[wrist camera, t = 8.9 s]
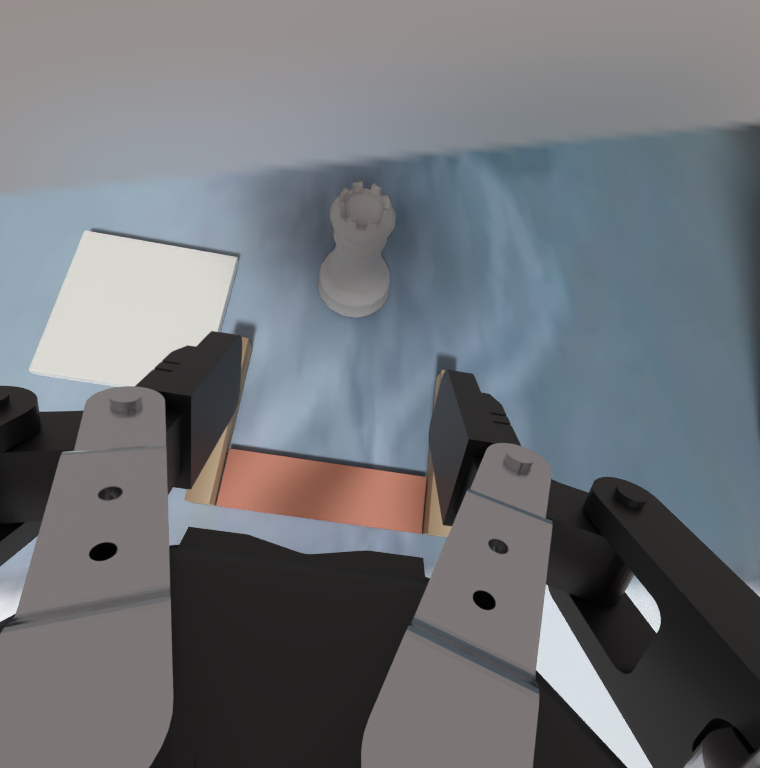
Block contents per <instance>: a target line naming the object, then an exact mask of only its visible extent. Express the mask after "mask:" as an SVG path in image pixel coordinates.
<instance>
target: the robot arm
mask: <svg viewBox="0 0 760 768" xmlns="http://www.w3.org/2000/svg"><path fill="white" fill-rule="evenodd" d="M241 362H242V338H241V336H240V335H234V334H228V333H222V332H215V331H211V332H210V333H209V334H208V335H207V336H206V337H205V338H204V339H203V340H202V341H201V342H200V343H199V344H198V345H197V346H196V347H195V346H189V345H187V346H185V347H182V348H180V349H177V350H174V351H172V352H171V353H170V354H169V355H168V356H166V357H165V358H164V359H163V360H162V362H160V363H159V364H158V365H157V366H156V367H155V369H154V370H152V371H151V372H149V373H148V374H147V375H146V376H145V377H144V378H143V379H142V380H141V381H140V382H139V383H138V384H137V385H136V386H125V387H115V388H110V389H107V390H103V391H101V392H98V393H96V394H94V395H93V396H91V397H90V398H89V399H88V400H87V402H86V404H85V408H84V411H61V412H39V407H38V401H37V396H36V395H35V394H34V393H33V392H32V391H30V390H27V389H24V388H20V387H13V386H0V566H1V565H2V564H4V563H5V562H6V561H7V560H9V559H10V558H11V557H12V556H14V555H15V554H16V553H17V552H18V551H20V550H21V549H22V548H23V547H25V546H26V545H27V544H28V543H29V542H31V541H32V540H33V539H34V538H36V537H37V536H38V538H37V541H36V545H35V549H34V552H33V556H32V559H31V563H30V566H29V570H28V574H27V577H26V581H25V584H24V588H23V591H22V595H21V599H20V602H19V606H18V609H17V612H16V614H14V615H13V616H11V617H9V618H7V619H5V620H3V621H1V622H0V768H627V767H626V766H625V765H624V763H623V762H622V761H621V760H620V759H619V758H618V757H617V756H616V755H615V754H614V753H613V752H612V751H611V750H610V749H609V747H608V746H607V745H606V744H605V743H604V742H603V741H602V740H601V739H600V738H599V737H598V736H597V735H596V734H595V732H594V731H593V730H592V729H591V728H590V727H589V726H588V725H587V724H586V723H585V722H584V721H583V720H582V719H581V718H580V716H579V715H578V714H577V713H576V712H575V711H574V710H573V709H572V708H571V707H570V706H569V705H568V704H567V703H566V702H565V700H564V699H563V698H562V697H561V696H560V695H559V694H558V693H557V692H556V691H555V690H554V689H553V688H552V687H551V685H550V684H549V683H548V682H547V681H546V680H545V679H544V678H543V677H542V676H541V675H540V674H539V673H538V672H537V671H536V663H537V655H538V646H539V638H540V629H541V620H542V612H543V603H544V595H545V586H546V585H548V588H549V591H550V594H551V596H552V598H553V600H554V601H555V603H556V605H557V606H558V608H559V610H560V611H561V613H562V615H563V616H564V618H565V620H566V622H567V623H568V625H569V627H570V628H571V630H572V632H573V633H574V635H575V637H576V638H577V640H578V642H579V643H580V645H581V647H582V649H583V650H584V652H585V654H586V655H587V657H588V659H589V660H590V662H591V664H592V665H593V667H594V669H595V670H596V672H597V674H598V675H599V677H600V679H601V681H602V682H603V684H604V686H605V687H606V689H607V691H608V692H609V694H610V696H611V697H612V699H613V701H614V702H615V704H616V706H617V708H618V709H619V711H620V713H621V714H622V716H623V718H624V719H625V721H626V723H627V724H628V726H629V728H630V729H631V731H632V733H633V734H634V736H635V738H636V740H637V741H638V743H639V745H640V746H641V748H642V750H643V751H644V753H645V755H646V756H647V758H648V760H649V761H650V763H651V765H652V767H653V768H760V597H759V596H758V595H757V594H756V593H755V592H754V591H753V590H752V589H751V588H750V587H749V586H747V585H746V584H745V583H744V582H743V581H742V580H741V579H740V578H739V577H738V576H737V575H736V574H735V573H734V572H733V571H732V570H731V569H730V568H729V567H728V566H727V565H726V564H725V563H724V562H722V561H721V560H720V559H719V558H718V557H717V556H716V555H715V554H714V553H713V552H712V551H711V550H710V549H709V548H708V547H707V546H706V545H705V544H704V543H703V542H702V541H701V540H700V539H699V538H698V537H696V536H695V535H694V534H693V533H692V532H691V531H690V530H689V529H688V528H687V527H686V526H685V525H684V524H683V523H682V522H681V521H680V520H679V519H678V518H677V517H676V516H675V515H674V514H673V513H671V512H670V511H669V510H668V509H667V508H666V507H665V506H664V505H663V504H662V503H661V502H660V501H659V500H658V499H657V498H656V497H655V496H653V495H652V494H651V493H649V492H648V491H646V490H645V489H643V488H641V487H639V486H638V485H635V484H633V483H631V482H628V481H626V480H622V479H619V478H613V477H602V478H598V479H596V480H595V481H594V483H593V485H592V487H591V489H590V491H589V493H588V492H585V491H582V490H579V489H576V488H573V487H570V486H567V485H564V484H561V483H559V482H556V481H554V480H552V479H551V476H552V470H551V467H550V465H549V464H548V463H547V461H546V460H545V459H543V458H542V457H541V456H540V455H538V454H537V453H535V452H533V451H531V450H529V449H527V448H525V447H522V446H521V445H520V442H519V440H518V438H517V436H516V434H515V432H514V430H513V428H512V426H510V422H509V419H508V417H506V413H505V411H504V409H503V407H502V405H501V404H500V403H499V402H498V401H497V400H496V399H495V398H493V397H492V396H491V395H490V394H486V393H481V391H480V389H479V386H478V384H477V382H476V379H475V377H474V375H473V374H471V373H465V372H459V371H452V370H445V372H444V374H443V376H442V380H441V383H440V387H439V391H438V395H437V399H436V403H435V407H434V411H433V415H432V419H431V423H430V429H429V445H430V451H431V457H432V463H433V469H434V475H435V481H436V487H437V493H438V499H439V505H440V512H441V518H442V524H443V525H445V526H452V528H451V530H450V532H449V535H448V537H447V540H446V542H445V544H444V547H443V549H442V552H441V554H440V556H439V559H438V561H437V563H436V566H435V568H434V571H433V573H432V575H431V578H427V577H425V572H424V563H423V558H419V557H412V556H404V555H397V554H389V553H382V552H374V551H353V552H339V553H325V554H303V553H299V552H296V551H293V550H290V549H287V548H285V547H282V546H279V545H276V544H273V543H270V542H267V541H265V540H262V539H259V538H256V537H253V536H250V535H246V534H239V533H231V532H224V531H216V530H209V529H201V528H194V527H188V529H187V531H186V533H185V535H184V537H183V539H182V541H181V543H180V545H171V546H169V525H168V494H169V493H170V491H171V489H172V488H173V487H176V488H183V489H192V487H193V485H194V483H195V482H196V480H197V478H198V476H199V475H200V473H201V471H202V469H203V468H204V466H205V464H206V462H207V460H208V459H209V457H210V455H211V453H212V452H213V450H214V448H215V446H216V445H217V443H218V441H219V439H220V438H221V436H222V434H223V432H224V431H225V429H226V427H227V425H228V423H229V422H230V420H231V418H232V416H233V415H234V413H235V411H236V408H237V405H238V400H239V395H240V381H241ZM634 575H635V576H636V577H637V578H638V580H639V581H640V582H641V583H642V585H643V586H644V587H645V588H646V590H647V591H648V592H649V593H650V594H651V596H652V597H653V598H654V600H655V601H656V603H657V605H658V608H659V611H660V616H661V625H660V629H659V631H658V632H657V634H656V632H655V631H654V630H653V628H652V627H651V626H650V624H649V623H648V622H647V621H646V619H645V618H644V617H643V615H642V614H641V613H640V611H639V610H638V609H637V607H636V606H635V605H634V603H633V602H632V601H631V599H630V598H629V597H628V595H627V594H626V593H625V590H626V589H627V587H628V585H629V583H630V582H631V580H632V578H633V576H634Z"/></svg>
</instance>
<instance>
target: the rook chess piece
mask: <svg viewBox="0 0 760 768" xmlns="http://www.w3.org/2000/svg"><path fill="white" fill-rule="evenodd" d="M381 190H382V187H380V186H378V185H377V184H375V183H373V184H372V186H371V189H367V188H363V181H358V182H353V186H352V189H351V190H348V189H347V188H345V187H344V189H343V190H342V191H341V193H340V194H339V196H338V197H337V198H336V200H335V201H334V202H333V204H332V205H331V210H330V219H331V223H332V226H333V228H334V234H333V236H334V239H335V242H336V247H335V249H334V250H333V251H332V252H331V253H329V254H328V256H327V257H326V259H325V260H324V262H323V263H322V265H321V268H320V273H319V280H318V289H319V293H320V296H321V299H322V300H323V301H324V302H325V303H326V305H327V306H328V307H329V308H330V309H331V310H333V311H335V312H337V313H339V314H340V315H342V316H349V317H355V318H358V317H362V316H367V315H371V314H372V313H374V312H375V311H377V310H378V309H380V308H381V307H382V306H383V304H384V303H385V301H386V299H387V298H388V294H389V285H390V273H389V270H388V267H387V264H386V262H385V261H384V260H383V257H382V256H381V251H382V250H383V248H384V247H385V245H386V244H387V237H388V236H389V235H390V234H391V232H392V231H393V229H394V228H395V222H396V214H395V212H394V209H393V206H392V205H391V200H390V198H389V195H385V196H383V195H381Z"/></svg>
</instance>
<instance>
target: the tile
mask: <svg viewBox="0 0 760 768" xmlns="http://www.w3.org/2000/svg"><path fill="white" fill-rule="evenodd" d="M238 263H239V262H238V258H237V257H234V256H228V255H222V254H217V253H211V252H205V251H199V250H194V249H188V248H182V247H177V246H171V245H165V244H159V243H154V242H148V241H142V240H136V239H131V238H125V237H119V236H114V235H108V234H102V233H96V232H91V231H84V233H83V236H82V238H81V241H80V243H79V246H78V248H77V251H76V253H75V256H74V258H73V261H72V263H71V266H70V268H69V271H68V273H67V276H66V278H65V281H64V283H63V286H62V288H61V291H60V293H59V296H58V298H57V301H56V303H55V306H54V308H53V311H52V313H51V316H50V318H49V321H48V323H47V326H46V328H45V331H44V333H43V336H42V338H41V341H40V343H39V346H38V348H37V351H36V353H35V356H34V358H33V361H32V363H31V366H30V368H29V371H30V372H32V373H33V374H35V375H41V376H48V377H54V378H61V379H68V380H74V381H81V382H87V383H94V384H101V385H107V386H114V387H125V386H136V385H137V384H138V383H139V382H140V381H141V380H142V379H143V378H144V377H145V376H146V375H147V374H148V373H149V372H151V371H152V370H154V369H155V367H156V366H157V365H158V364H159V363H160V362H162V360H163V359H164V358H165V357H166V356H168V355H169V354H170V353H171V352H172V351H174V350H177V349H180V348H182V347H185V346H187V345H189V346H195V347H196V346H197V345H198V344H199V343H200V342H201V341H202V340H203V339H204V338H205V337H206V336H207V335H208V334H209V333H210V332H211V331H215V332H221V328H222V325H223V321H224V317H225V313H226V309H227V306H228V302H229V298H230V294H231V290H232V286H233V283H234V279H235V275H236V271H237V267H238Z"/></svg>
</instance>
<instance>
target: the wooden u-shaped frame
mask: <svg viewBox="0 0 760 768" xmlns="http://www.w3.org/2000/svg"><path fill="white" fill-rule="evenodd" d="M241 338H242V362H241V381H240V395H239V400H238V405H237V408H236V411H235V413H234V415H233V416H232V418H231V420H230V422H229V423H228V425H227V427H226V429H225V431H224V432H223V434H222V436H221V438H220V439H219V441H218V443H217V445H216V446H215V448H214V450H213V452H212V453H211V455H210V457H209V459H208V460H207V462H206V464H205V466H204V468H203V469H202V471H201V473H200V475H199V476H198V478H197V480H196V482H195V483H194V485H193V487H192V489H187V492H186V496H185V500H186V501H189V502H192V503H199V504H206V505H213V506H221V507H228V508H235V509H243V510H250V511H257V512H265V513H272V514H279V515H287V516H294V517H301V518H309V519H316V520H323V521H331V522H338V523H346V524H353V525H360V526H368V527H375V528H382V529H390V530H397V531H404V532H412V533H419V534H421V532H422V534H426V535H434V536H441V537H448V535H449V532H450V530H451V528H452V526H445V525H443V524H442V518H441V512H440V505H439V499H438V493H437V487H436V481H435V475H434V469H433V463H432V457H431V451H430V452H429V463H428V474H427V485H426V477H422V476H415V475H408V474H401V473H395V472H388V471H381V470H374V469H367V468H360V467H353V466H346V465H339V464H333V463H326V462H319V461H312V460H305V459H298V458H291V457H284V456H278V455H271V454H264V453H257V452H250V451H243V450H236V449H229V446H230V442H231V437H232V433H233V429H234V424H235V420H236V416H237V412H238V407H239V403H240V399H241V395H242V390H243V386H244V382H245V377H246V373H247V369H248V365H249V360H250V356H251V352H252V346H251V343H250V340H249V338H245V337H241ZM444 372H445V370H442V371H441V372H440V373H439V375H438V376H437V378H436V386H435V397H434V407H435V403H436V399H437V395H438V391H439V387H440V383H441V380H442V376H443V374H444ZM433 411H434V408H433ZM228 450H229V453H228ZM227 454H228V457H227ZM226 459H227V462H226ZM225 463H226V466H225ZM224 467H225V470H224ZM223 471H224V474H223ZM222 476H223V479H222ZM221 480H222V483H221ZM220 484H221V487H220ZM425 488H426V496H425ZM219 489H220V492H219ZM218 493H219V496H218ZM217 497H218V500H217ZM424 499H425V507H424ZM216 501H217V504H216ZM423 510H424V518H423ZM422 521H423V529H422Z"/></svg>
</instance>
